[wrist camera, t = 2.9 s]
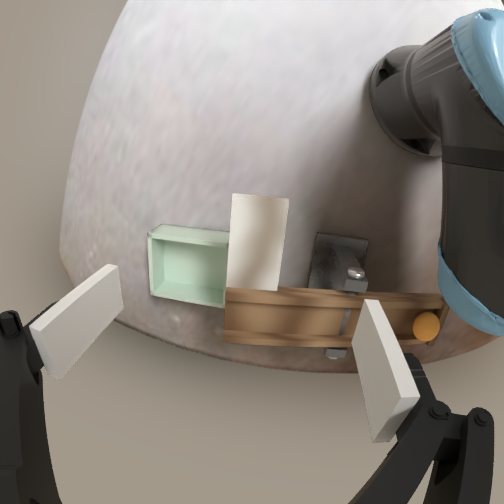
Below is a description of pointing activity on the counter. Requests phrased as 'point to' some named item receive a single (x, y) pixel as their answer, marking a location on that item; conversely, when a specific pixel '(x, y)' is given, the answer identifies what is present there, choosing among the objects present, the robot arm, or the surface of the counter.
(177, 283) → the mint green open box
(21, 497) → the robot arm
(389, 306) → the lever
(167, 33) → the counter surface
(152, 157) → the counter surface
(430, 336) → the ball
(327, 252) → the stand
